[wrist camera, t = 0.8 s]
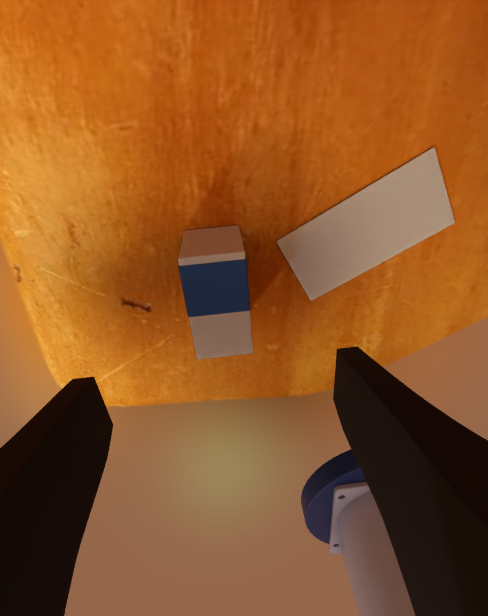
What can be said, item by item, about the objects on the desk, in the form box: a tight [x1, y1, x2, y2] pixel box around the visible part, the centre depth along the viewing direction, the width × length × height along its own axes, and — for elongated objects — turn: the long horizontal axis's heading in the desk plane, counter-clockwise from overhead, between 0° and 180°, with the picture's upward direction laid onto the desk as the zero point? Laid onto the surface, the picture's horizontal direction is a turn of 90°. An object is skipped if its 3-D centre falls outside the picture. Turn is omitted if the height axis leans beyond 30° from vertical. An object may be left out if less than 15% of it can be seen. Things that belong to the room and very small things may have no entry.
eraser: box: [178, 225, 253, 360], centre depth 16 cm, size 5×3×4 cm, turn 5°
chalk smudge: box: [276, 147, 455, 301], centre depth 17 cm, size 8×4×1 cm, turn 121°
